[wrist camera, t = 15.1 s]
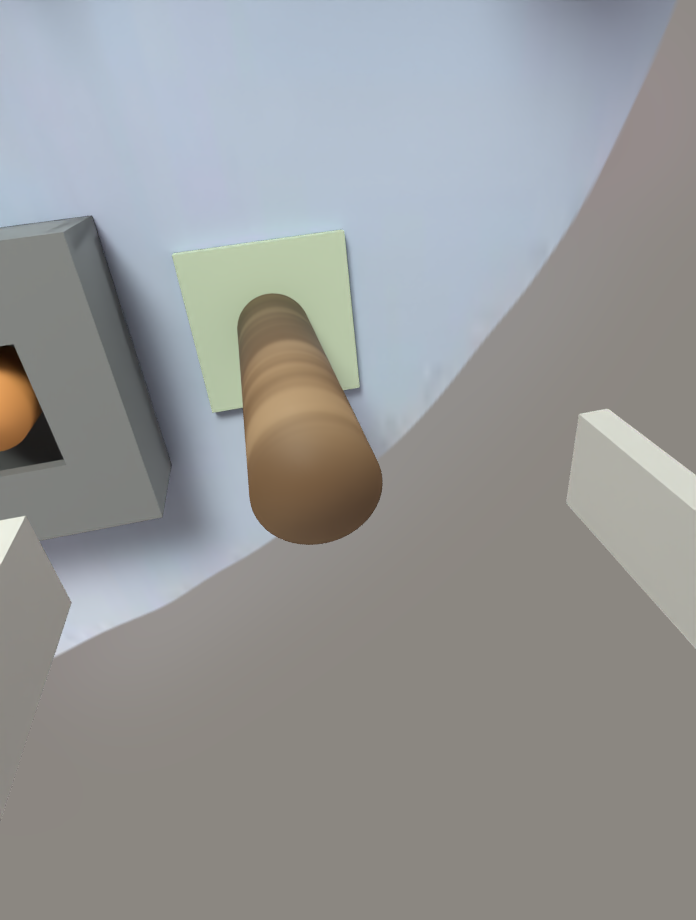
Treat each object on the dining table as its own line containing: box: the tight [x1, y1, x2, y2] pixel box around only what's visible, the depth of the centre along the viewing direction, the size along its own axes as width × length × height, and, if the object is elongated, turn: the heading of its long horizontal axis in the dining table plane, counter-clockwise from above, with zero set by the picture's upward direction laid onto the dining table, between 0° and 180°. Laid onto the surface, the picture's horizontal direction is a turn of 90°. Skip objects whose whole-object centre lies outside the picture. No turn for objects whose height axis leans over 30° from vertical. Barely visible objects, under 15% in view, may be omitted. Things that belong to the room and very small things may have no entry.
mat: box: [172, 230, 360, 413], centre depth 28 cm, size 8×8×1 cm
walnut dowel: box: [237, 293, 382, 545], centre depth 21 cm, size 4×4×15 cm
